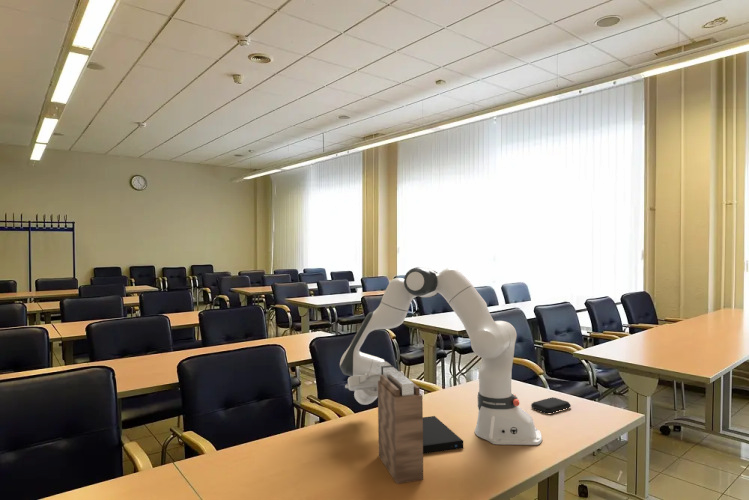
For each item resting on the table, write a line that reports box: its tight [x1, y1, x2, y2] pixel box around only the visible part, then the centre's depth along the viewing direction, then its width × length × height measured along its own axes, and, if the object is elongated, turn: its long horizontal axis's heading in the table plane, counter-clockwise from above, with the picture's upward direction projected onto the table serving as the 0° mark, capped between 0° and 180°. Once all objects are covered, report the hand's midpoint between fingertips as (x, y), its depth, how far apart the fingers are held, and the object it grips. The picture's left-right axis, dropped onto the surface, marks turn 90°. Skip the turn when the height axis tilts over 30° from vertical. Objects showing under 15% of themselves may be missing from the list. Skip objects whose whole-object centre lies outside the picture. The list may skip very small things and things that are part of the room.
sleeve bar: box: [377, 361, 415, 396], centre depth 146 cm, size 26×4×4 cm, turn 16°
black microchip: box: [530, 397, 572, 414], centre depth 191 cm, size 11×3×15 cm
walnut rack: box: [377, 375, 424, 485], centre depth 141 cm, size 18×8×26 cm, turn 16°
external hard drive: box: [423, 415, 464, 455], centre depth 163 cm, size 14×23×3 cm, turn 16°
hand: (381, 374), depth 160 cm, fingers open, 8 cm apart
